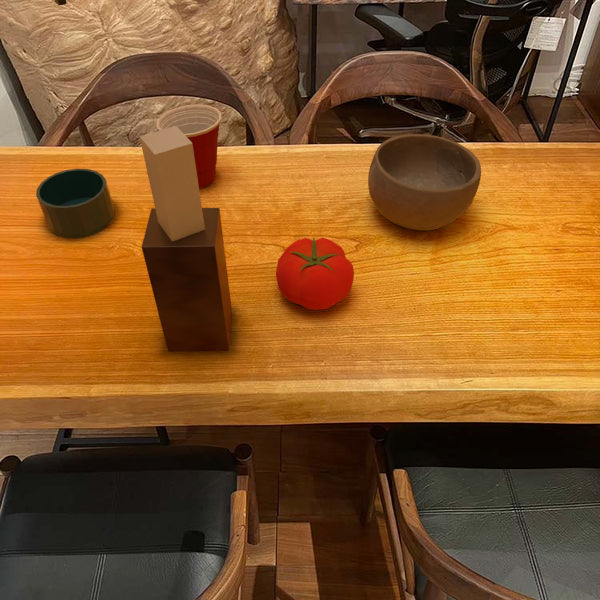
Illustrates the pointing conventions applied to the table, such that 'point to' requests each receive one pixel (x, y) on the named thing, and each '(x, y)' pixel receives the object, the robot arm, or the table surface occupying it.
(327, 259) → the tomato
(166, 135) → the block
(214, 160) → the plastic cup
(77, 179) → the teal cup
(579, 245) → the table surface
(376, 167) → the bowl
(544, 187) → the table surface
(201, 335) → the pedestal
